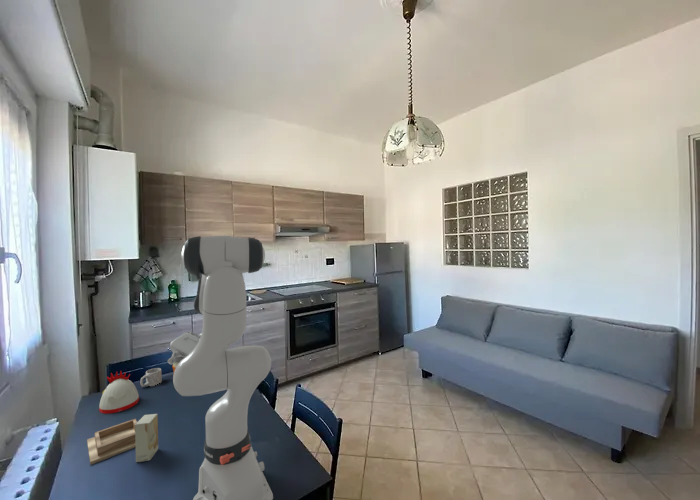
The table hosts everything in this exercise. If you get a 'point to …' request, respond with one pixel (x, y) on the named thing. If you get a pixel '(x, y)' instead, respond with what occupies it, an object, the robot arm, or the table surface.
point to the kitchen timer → (118, 395)
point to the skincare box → (146, 437)
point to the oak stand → (112, 441)
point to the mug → (152, 377)
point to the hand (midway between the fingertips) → (179, 368)
